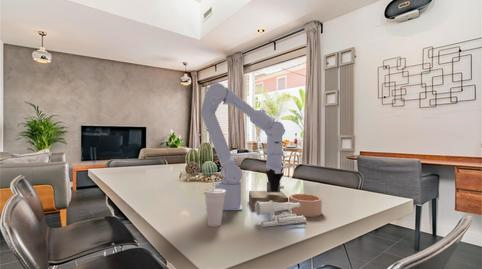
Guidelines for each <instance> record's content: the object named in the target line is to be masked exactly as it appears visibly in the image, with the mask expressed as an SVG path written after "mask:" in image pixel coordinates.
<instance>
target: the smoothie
mask: <svg viewBox="0 0 482 269" xmlns="http://www.w3.org/2000/svg"><path fill="white" fill-rule="evenodd" d="M215 178H216V177H215V175H212V188H207V189H205V190H204V191H203V192H204V193H203V195H204V198H205V206H206V216H207V217H206V218H207V225H208V227H213V228H214V227H220V226H221V225H222V218H223V211H224V210H223V206H224V199H225V195H226V190H224V189H218V188H215V182H216V181H215Z"/></svg>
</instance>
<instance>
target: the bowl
mask: <svg viewBox="0 0 482 269" xmlns="http://www.w3.org/2000/svg"><path fill="white" fill-rule="evenodd" d="M288 202H290V203H300V207H295V208H292V209H291V210H292V213H293V214H296V216H302V215H303V216H304V217H305V218H315V217H319V216H321V215H322V212H323V198H322V197H320V196H319V195H314V194H308V193H293V194H290V195H289V196H288Z"/></svg>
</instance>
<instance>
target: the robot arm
mask: <svg viewBox="0 0 482 269" xmlns="http://www.w3.org/2000/svg"><path fill="white" fill-rule="evenodd" d="M221 103H222V105H231V106H233V107H234V108H236V109H237V110H239V111H241V113H244V114H245V115H246V116H248V117H249V121H250V122H251V123H252V124H253V125H255V127H257V128H259V129H260V130H262V131H263V132H264V133H265V135H266V160H265V161H266V164H265V168H266V169H267V170H265V174H266V175H265V176H266V178H267V182H270V186H271V191H272V192H277V191H278V187H279V183H280V184H281V179H282V177H283V176H284V172H282V169H285V168H286V166H285V165H283V164H282V163H283V136H284V134H286V129H285V126H284V124H283V123H282V122H280V121H276V118H275V117H272V116H270V115H269V114H267V113H266V110H265V109H264V108H262V109H260V108H256V109H255V108H253V107H252V106H251V105H250V104H249V103H247V102H246V101H245V100H243V99H242V98H241V97H240V96H239V95H237V94H236V93H235V92H234V91H233V90H231V88H228V87H225V85H224V84H222V83H218V82H215V83H213V84H211V85H210V86H209V87H208V89H207V90H206V92H205V94H204V98H203V102H202V107H201V110H200V114H201V117H202V120H203V122H204V125H205V128H206V129H207V132H208V136H209V138H210V140H211V142H212V146H213V148H214V149H215V153H216V155H217V157H218V160H219V163H220V166H221V169H220V172H221V173H220V174H221V175H222V177H223V178H222V179H221V180H220V182H215V183H214V188H218V189H224V190H226V195H225V199H224V206H223V211H242V210H243V206H242V203H241V200H242V199H241V198H242V196H241V195H242V181H241V180H242V177H243V171H242V169H241V168H240V167H239V166H238V165H237V164H236V162H235V159H234V156H232V154H231V150H230V148H229V145H228V143H227V141H226V138H225V135H224V133H223V130H222V127H221V125H220V122H219V120H218V117H217V115H216V112H217V110H218V108H219V105H221Z"/></svg>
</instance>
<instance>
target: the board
mask: <svg viewBox="0 0 482 269" xmlns="http://www.w3.org/2000/svg"><path fill="white" fill-rule="evenodd" d="M270 200H272V201H273V202H278V203H285V202H289V196H287V195H286V194H285V193H284V192H283V191H282V190H280V192H278V193H276V192H267V190H248V203H249V205H250V207H251V208H250V209H251V210H255V203H256V201H259V202H269V201H270Z"/></svg>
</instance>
